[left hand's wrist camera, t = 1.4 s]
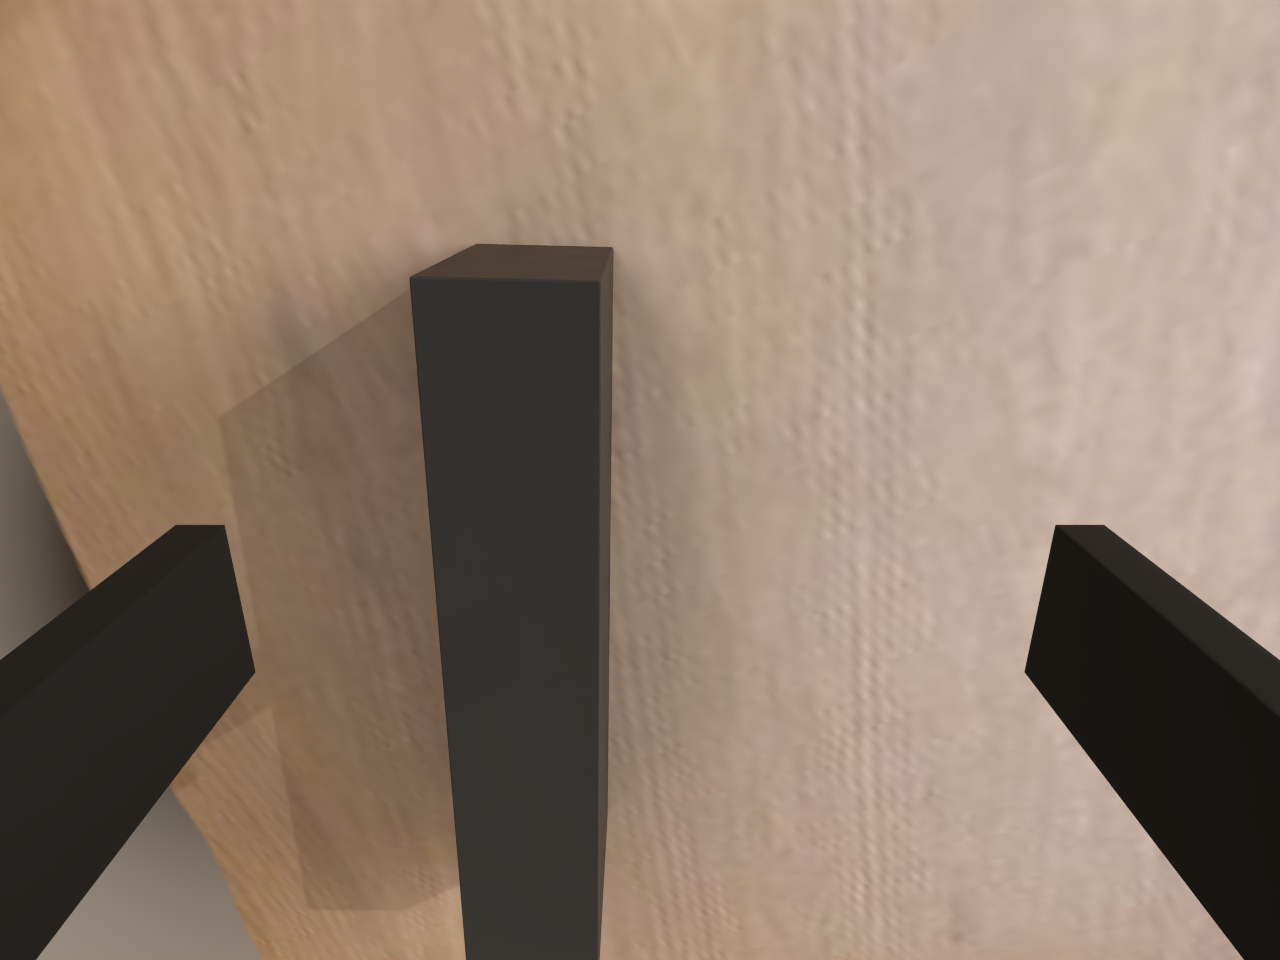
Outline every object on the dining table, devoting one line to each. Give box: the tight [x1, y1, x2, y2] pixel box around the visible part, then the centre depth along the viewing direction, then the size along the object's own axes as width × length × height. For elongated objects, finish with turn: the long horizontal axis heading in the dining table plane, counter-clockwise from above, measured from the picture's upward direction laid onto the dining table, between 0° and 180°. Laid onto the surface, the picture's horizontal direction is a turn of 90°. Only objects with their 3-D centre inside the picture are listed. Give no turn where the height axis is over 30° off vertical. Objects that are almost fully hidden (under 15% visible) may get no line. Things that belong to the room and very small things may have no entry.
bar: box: [410, 244, 613, 960], centre depth 29 cm, size 26×5×8 cm, turn 179°
